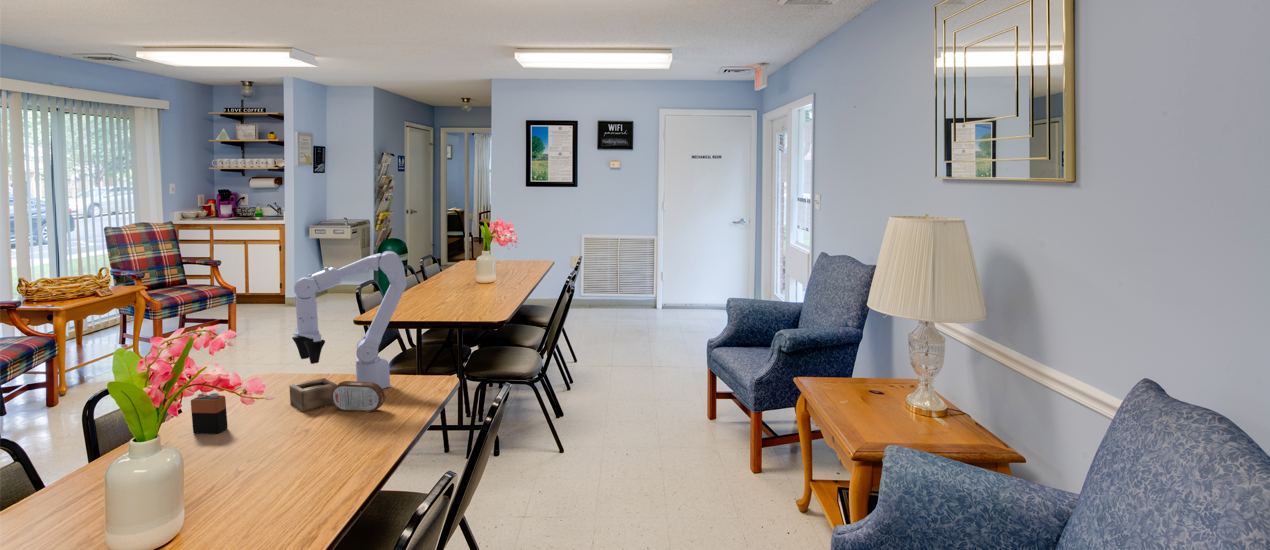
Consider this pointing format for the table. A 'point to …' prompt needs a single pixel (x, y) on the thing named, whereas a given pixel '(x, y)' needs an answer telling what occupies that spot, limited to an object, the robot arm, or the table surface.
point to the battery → (209, 413)
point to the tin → (358, 396)
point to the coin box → (311, 394)
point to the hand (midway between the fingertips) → (309, 360)
